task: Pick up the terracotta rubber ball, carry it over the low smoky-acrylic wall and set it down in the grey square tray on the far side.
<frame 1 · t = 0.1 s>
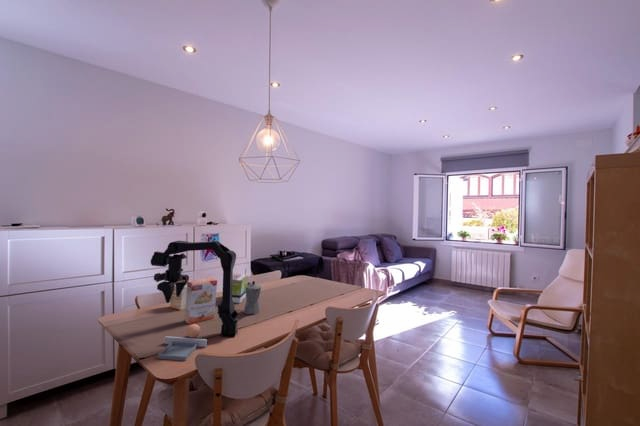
hand: (172, 299, 141), 15 cm above the table, fingers open, 9 cm apart
ball: (192, 337, 136), on the table
supplement box: (178, 308, 170), on the table
tea box: (236, 299, 192), on the table
wall: (185, 345, 128), on the table
grey square tray: (178, 352, 122), on the table
coffeepot: (250, 311, 173), on the table
cracker box: (199, 320, 156), on the table
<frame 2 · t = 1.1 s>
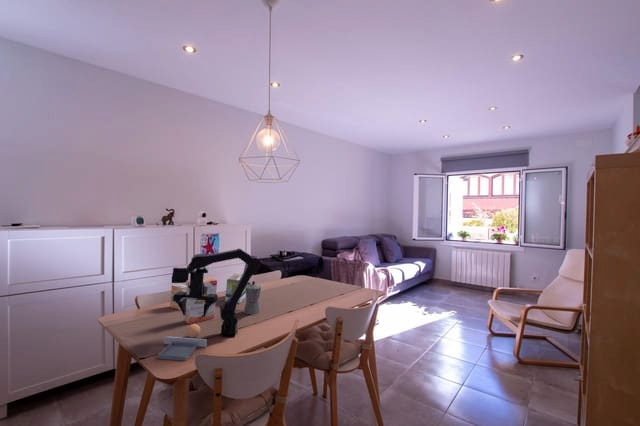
hand: (194, 316, 135), 10 cm above the table, fingers open, 9 cm apart
nothing on the table moved.
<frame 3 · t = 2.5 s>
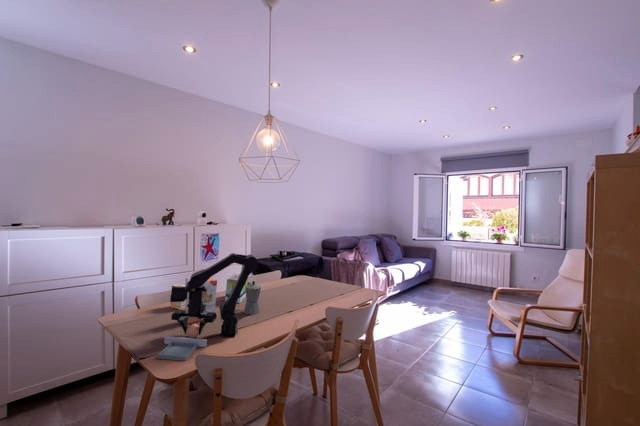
hand: (193, 334, 136), 1 cm above the table, fingers closed on ball, 6 cm apart
ball: (192, 337, 136), on the table, touching gripper
everything else where it was.
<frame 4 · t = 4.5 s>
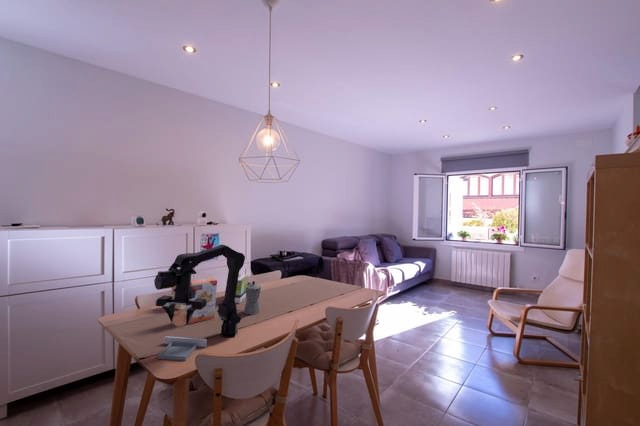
hand: (180, 322, 122), 12 cm above the table, fingers closed on ball, 6 cm apart
ball: (179, 326, 122), point 11 cm above the table, touching gripper
everything else where it was.
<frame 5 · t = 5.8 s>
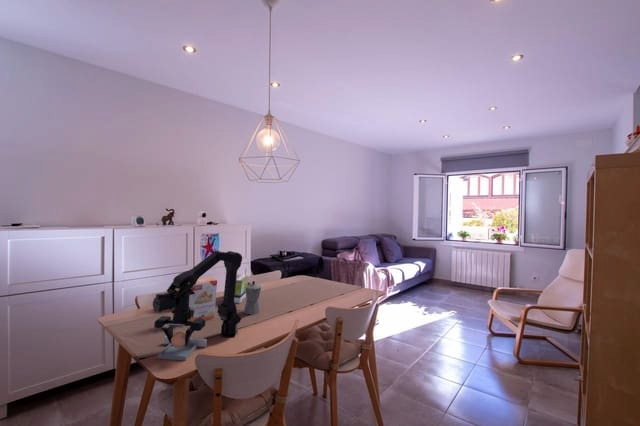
hand: (179, 343, 122), 4 cm above the table, fingers closed on ball, 6 cm apart
ball: (178, 346, 122), point 2 cm above the table, touching gripper
everything else where it was.
when the fingers open (3 cm above the table, at t = 6.8 s): ball drops 1 cm, resting on grey square tray.
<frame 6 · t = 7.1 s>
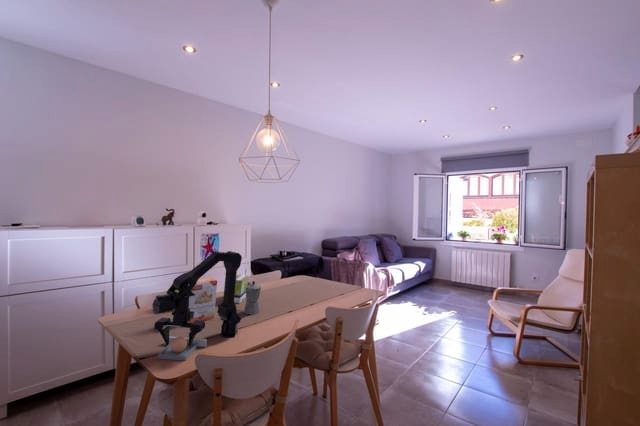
hand: (178, 345, 122), 3 cm above the table, fingers open, 9 cm apart
ball: (178, 351, 122), resting on grey square tray
everything else where it was.
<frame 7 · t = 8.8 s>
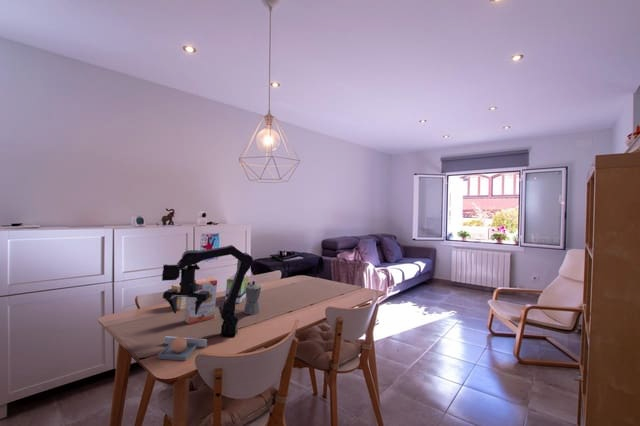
hand: (185, 313, 132), 12 cm above the table, fingers open, 9 cm apart
nothing on the table moved.
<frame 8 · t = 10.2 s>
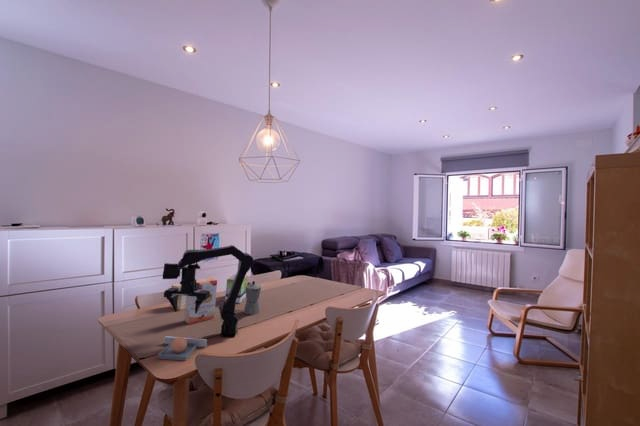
hand: (186, 312, 133), 12 cm above the table, fingers open, 9 cm apart
nothing on the table moved.
at the end: ball 0.0 cm from the grey square tray (horizontally); ball resting on grey square tray; the gripper is holding nothing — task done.
